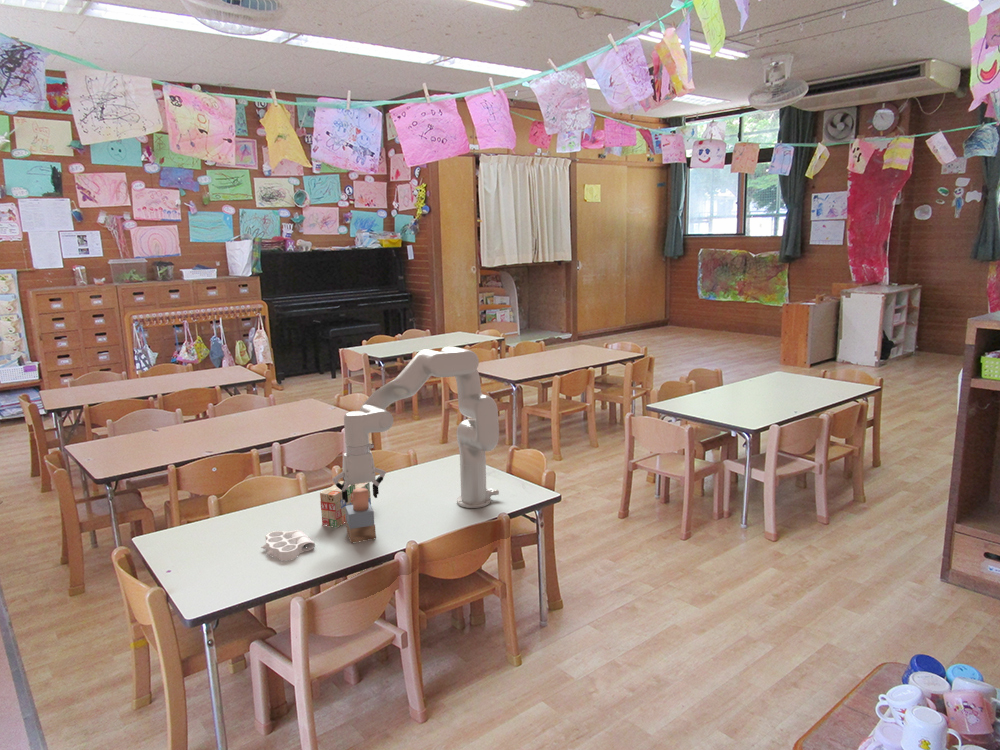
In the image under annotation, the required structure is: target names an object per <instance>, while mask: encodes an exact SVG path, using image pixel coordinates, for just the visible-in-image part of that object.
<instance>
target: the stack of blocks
mask: <svg viewBox="0 0 1000 750" xmlns="http://www.w3.org/2000/svg"><path fill="white" fill-rule="evenodd" d="M338 482H339V483H340V484H341V485H342V484H343V482H344V480H339V481H338ZM370 487H371V486H370V482H367V483H361V484H354V485H349V486H348V487H347V489H346V490H347V495H348V502H347V503H346V502H345V501H344V500H343V499H342V490H341V489H339V488H338V487H337V486H336V485H335V484H333V485H331V486H330V487H328V488H326V489H324V490H322V491H321V492H320V493H319V498H320V501H319V502H320V511H321V523H322V524H321V526H323V525H327V526H326V527H329V526H333V527H332V528H334V527H338V526H339V527H341V526H342V525H341V524H343V523H344V522H346V509H345V506H348V505H353V490H354V489H358V488H365V489H368V502H369V503H370V505H371V506H372V503H371V501H372V499H371V490H370V489H371V488H370ZM344 524H345V523H344ZM344 524H343V525H344ZM340 525H341V526H340ZM339 527H338V528H339Z"/></svg>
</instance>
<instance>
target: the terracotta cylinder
mask: <svg viewBox="0 0 1000 750" xmlns="http://www.w3.org/2000/svg"><path fill="white" fill-rule="evenodd" d="M368 508H369V503H368V489H365V488H358V489H354V490H353V509H354V510H355V511H365V510H367V509H368Z"/></svg>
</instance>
